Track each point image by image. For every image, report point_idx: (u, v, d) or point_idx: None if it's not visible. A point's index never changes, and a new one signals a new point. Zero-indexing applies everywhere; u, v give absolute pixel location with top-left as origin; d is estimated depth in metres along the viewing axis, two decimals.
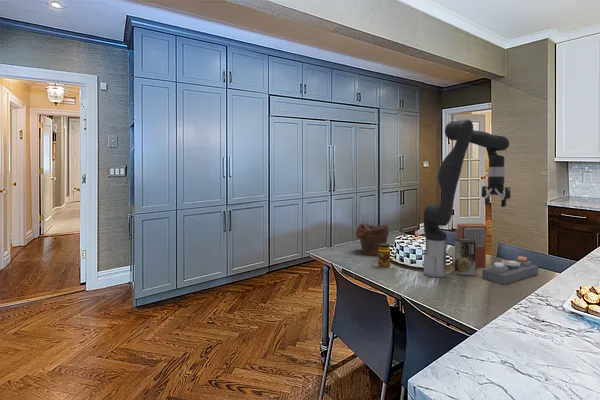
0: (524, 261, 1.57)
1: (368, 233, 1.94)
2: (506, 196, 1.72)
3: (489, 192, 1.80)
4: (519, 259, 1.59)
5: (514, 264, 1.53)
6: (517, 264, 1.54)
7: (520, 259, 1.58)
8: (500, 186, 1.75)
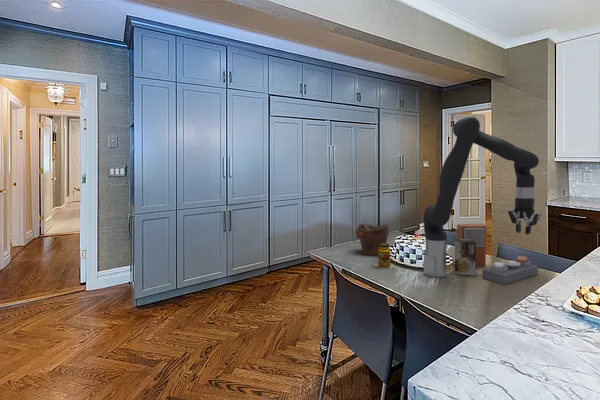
0: (524, 261, 1.57)
1: (368, 233, 1.94)
2: (531, 222, 1.53)
3: (518, 216, 1.57)
4: (519, 259, 1.59)
5: (514, 264, 1.53)
6: (517, 264, 1.54)
7: (520, 259, 1.58)
8: (530, 209, 1.53)
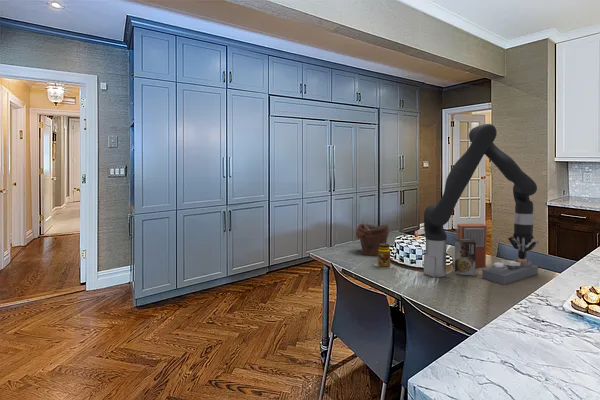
0: None
1: (368, 233, 1.94)
2: (527, 248, 1.56)
3: (518, 242, 1.58)
4: (519, 261, 1.59)
5: (514, 264, 1.53)
6: (517, 264, 1.54)
7: (520, 261, 1.58)
8: (529, 235, 1.55)
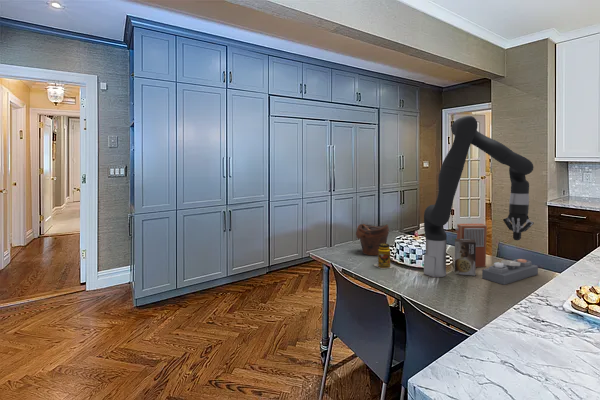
0: None
1: (368, 233, 1.94)
2: (522, 229, 1.53)
3: (513, 222, 1.56)
4: None
5: (514, 264, 1.53)
6: (517, 264, 1.54)
7: None
8: (524, 216, 1.52)
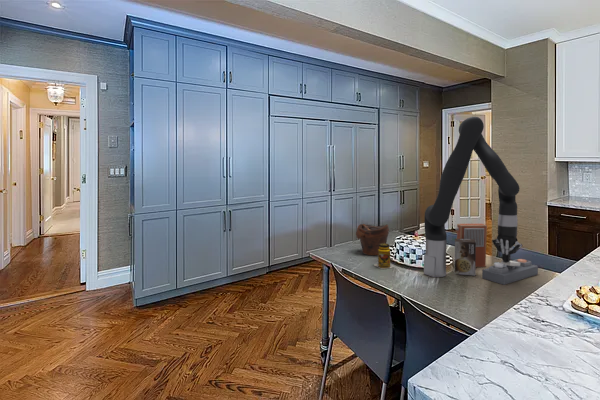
0: None
1: (368, 233, 1.94)
2: (510, 251, 1.50)
3: (502, 244, 1.52)
4: None
5: (514, 264, 1.53)
6: (517, 264, 1.54)
7: None
8: (512, 238, 1.49)
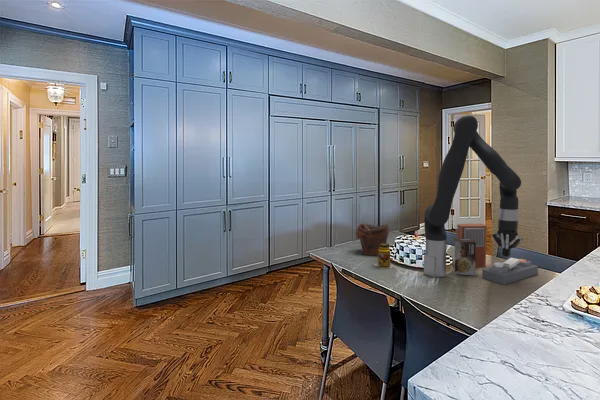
0: None
1: (368, 233, 1.94)
2: (511, 245, 1.50)
3: (502, 238, 1.52)
4: None
5: (514, 265, 1.53)
6: (517, 263, 1.54)
7: None
8: (513, 232, 1.49)
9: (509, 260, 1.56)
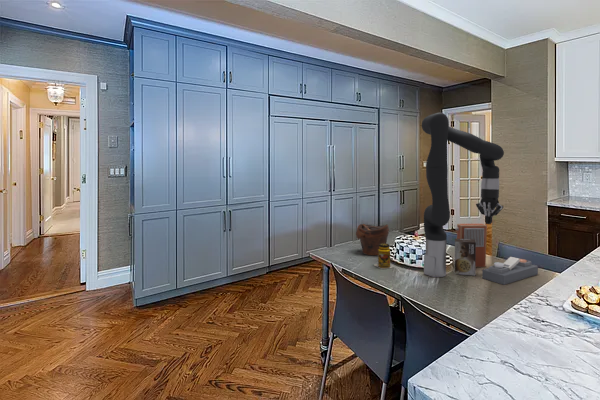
0: None
1: (368, 233, 1.94)
2: (492, 213, 1.58)
3: (485, 207, 1.61)
4: None
5: (514, 265, 1.53)
6: (517, 262, 1.54)
7: None
8: (494, 200, 1.57)
9: (509, 260, 1.56)
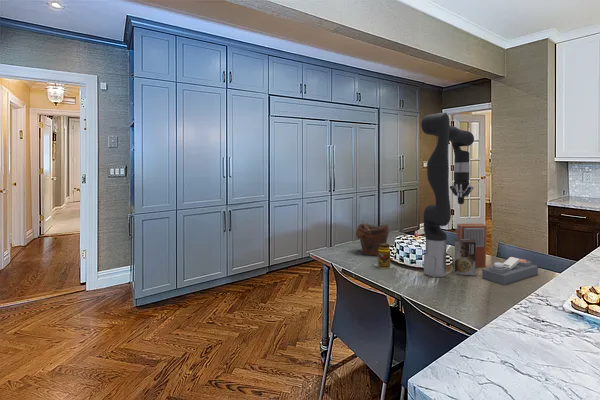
0: None
1: (368, 233, 1.94)
2: (464, 193, 1.75)
3: (457, 188, 1.77)
4: None
5: (514, 265, 1.53)
6: (517, 262, 1.54)
7: None
8: (465, 182, 1.74)
9: (509, 260, 1.56)
